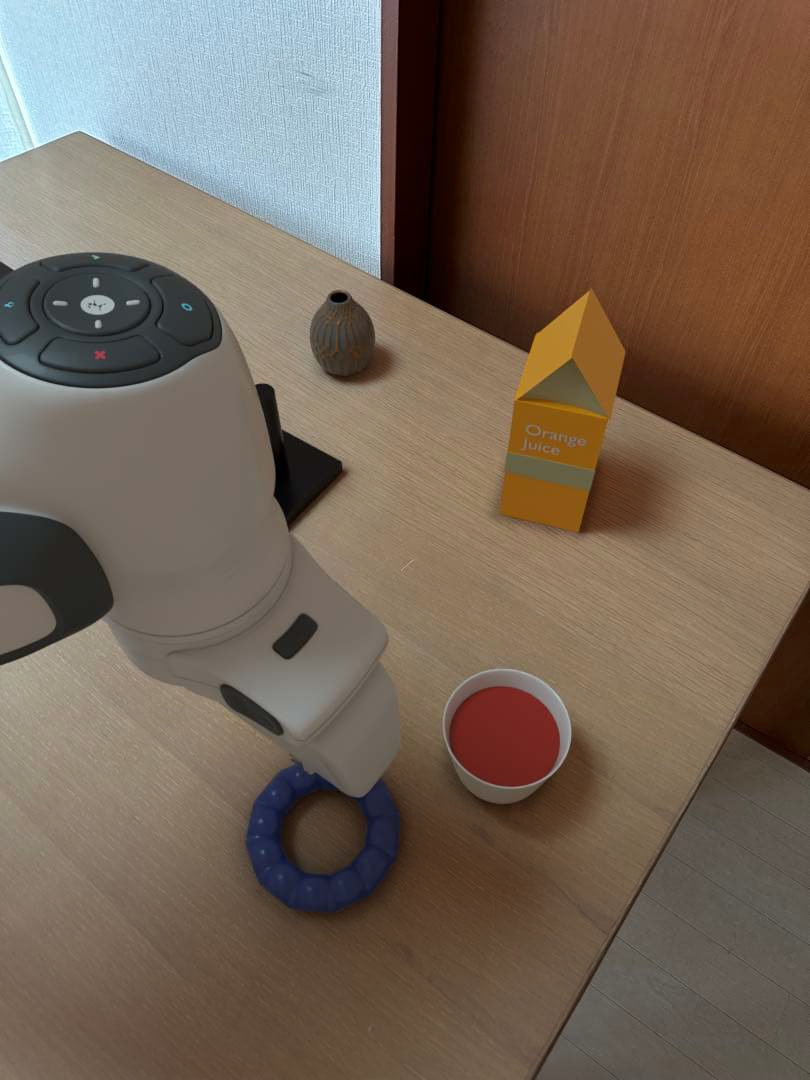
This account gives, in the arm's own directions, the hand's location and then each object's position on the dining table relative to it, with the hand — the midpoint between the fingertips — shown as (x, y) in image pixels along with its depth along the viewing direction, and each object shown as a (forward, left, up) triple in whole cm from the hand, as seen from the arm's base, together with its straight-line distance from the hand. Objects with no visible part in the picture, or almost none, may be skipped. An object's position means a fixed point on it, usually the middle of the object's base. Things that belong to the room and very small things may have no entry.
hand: (249, 714), depth 50 cm
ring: (0, -4, -14) cm, 14 cm away
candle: (+12, -11, -15) cm, 23 cm away
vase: (+41, +26, -15) cm, 51 cm away
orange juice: (+38, -1, -15) cm, 41 cm away
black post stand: (+24, +21, -15) cm, 35 cm away
